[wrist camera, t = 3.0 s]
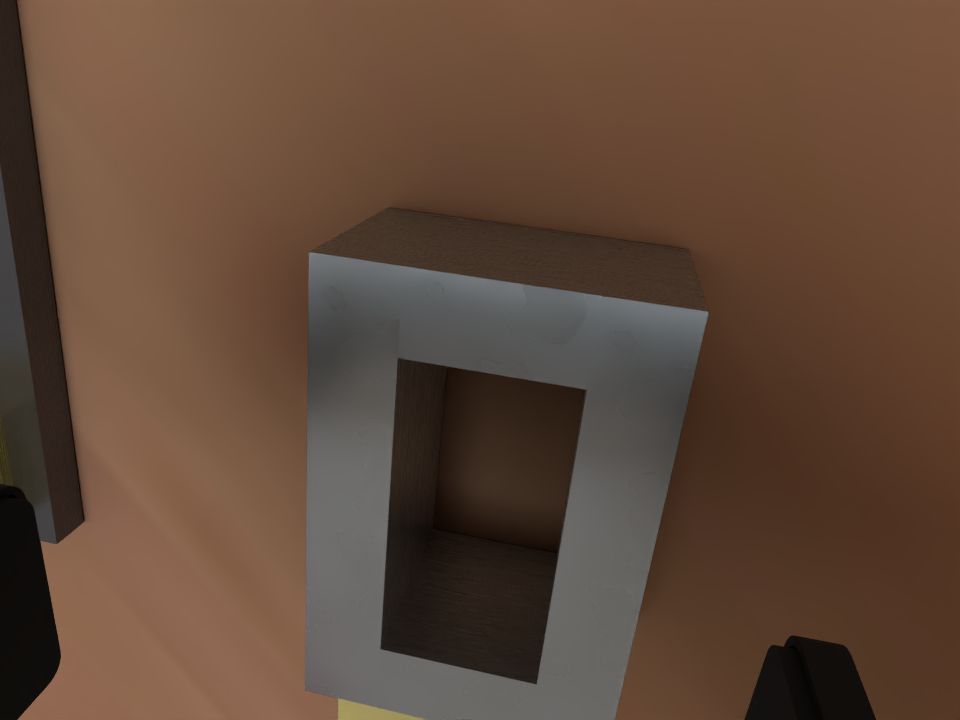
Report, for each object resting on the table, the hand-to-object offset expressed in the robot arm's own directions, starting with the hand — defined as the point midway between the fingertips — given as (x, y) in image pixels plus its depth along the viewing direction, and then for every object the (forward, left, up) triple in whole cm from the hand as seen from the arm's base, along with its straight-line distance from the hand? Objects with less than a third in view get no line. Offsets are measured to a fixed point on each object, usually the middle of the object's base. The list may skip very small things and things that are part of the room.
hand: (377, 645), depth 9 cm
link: (-1, +1, -8) cm, 7 cm away
